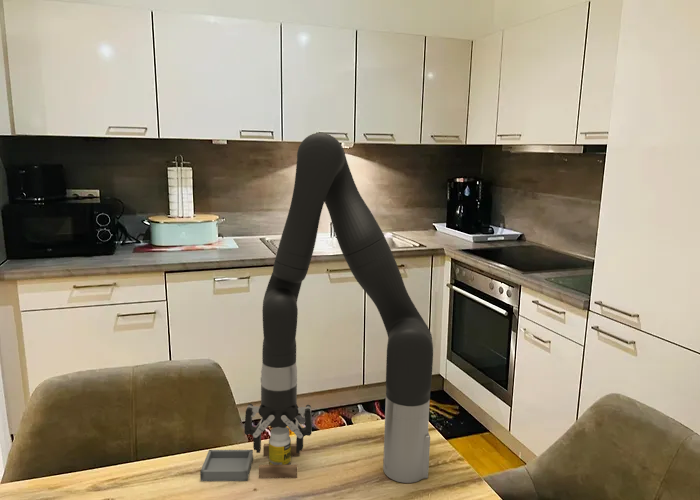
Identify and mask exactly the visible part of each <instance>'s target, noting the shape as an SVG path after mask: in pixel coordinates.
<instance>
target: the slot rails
mask: <svg viewBox="0 0 700 500" xmlns="http://www.w3.org/2000/svg"><path fill="white" fill-rule="evenodd" d="M262 451H263V452H262V453H263V456H262V457H269V443H263V450H262ZM291 457H300V453H296V443H291ZM258 479H298V464H297V463H296V464H291V465H269V464H258Z"/></svg>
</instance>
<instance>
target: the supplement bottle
mask: <svg viewBox="0 0 700 500" xmlns="http://www.w3.org/2000/svg"><path fill="white" fill-rule="evenodd" d="M291 439H292V438H291V437H290V428H289V427H288V426H287V427H285V428H281V427H275V428H271V429H270V438H269V439H268V444H269V456H268V465H292V464H291V463H292V461H291V460H292V456H291V444H292V440H291Z"/></svg>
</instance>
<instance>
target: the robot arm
mask: <svg viewBox="0 0 700 500" xmlns="http://www.w3.org/2000/svg"><path fill="white" fill-rule="evenodd" d="M290 202H291V203H290V206H289V209H288V214H287V217H286V220H285V223H284V228H283V231H282V233H281V236H280V241H279V242H278V243H279V244H278V248H277V251H276V255H275V258H274V263H273V267H272V272H271V275H270V278H269V281H268V283H267V287H266V290H265V292H264V297H263V300H262V330H263V341H262V358H261V359H262V361H261V362H262V364H261V371H260V374H261V375H260V405H259V406H258V405H255V406H254V404H252V403H249V404H247V406H246V409H245V415H244V419H245V420H244V431H243V433H244V434H245V435H246V436H248V435H250V436H252V438H253V443H252V444H253V446H252V447H253V451H256V452H255V453H256V454H260V453H261V450H262V433H263V432H264V431H265V430H266V429H267V427H270V428H271V429H272V428H275V427H281V428H285V427H288V428H289V431H291V432H293V434H295V436H296V438H295V439H296V440H295V441H296V443H295V444H296V453H300V452H301V451H303V449H304V437H306V436H309V437H310V436H311V435H312V432H313V431H312V430H313V424H312V423H313V422H312V406H311V405H310V404H306V405H305V406H301V407H300V406H298V403H297V400H298V399H297V398H298V397H297V396H298V391H297V390H298V389H297V388H298V367H297V340H296V337H297V326H298V314H299V313H298V309H299V308H298V298H299V294H300V291H301V287H302V284H303V281H304V280H305V278H306V277H307V275H308V271H309V268H310V264H311V261H312V258H313V255H314V254H313V253H314V250H315V245H316V242H317V241H316V240H317V236H318V230H319V224H320V219H321V214H322V211H323V207H324V204H325V206H326V208H327V211H328V214H329V217H330V220H331V224H332V227H333V232H334V234H335V237H336V240H337V243H338V246H339V248H340V250H341V252H342V255H343V257H344V259H345V262H346V263H347V266H348V268H349V269H350V270H349V271H350V272H351V274H352V275H353V277H354V279H355V281H356V282H357V283H358V285H360V286H359V287H360V288H361V289H362V290H364V292H365V293H366V295H367V296H368V297H369V298H370V299H371V301H372V302H373V303H374V305H375V307H376V308H377V310H378V314H379V315H380V318H381V320H382V323H383V325H384V328H385V331H386V334H387V338H388V339H387V346H386V360H385V363H386V367H385V404H384V405H385V411H384V434H383V435H384V437H383V439H384V440H383V458H382V459H383V460H382V463H383V468H382V470H383V473H384V474H385V475H386V476H387V478H389V479H391V480H393V481H395V482H397V483H405V484H410V483H411V484H412V483H416V482H419V481H422V480H424V479H428V478H429V467H430V447H431V436H430V433H429V423H430V422H429V420H430V403H431V402H430V401H431V390H432V378H433V365H434V363H433V362H434V361H433V360H434V345H433V337H432V333H431V330H430V328H429V326H428V325H427V323H426V322H425V320H424V319H423V317H422V315H421V313H420V312H419V310H418V308H416V305H415V304H414V302H413V301H412V299H411V296H410V295H409V293H408V290H407V288H406V286H405V283H404V279H403V277H402V274H401V272H400V269H399V266H398V264H397V262H396V261H397V260H396V258H395V256H394V254H393V251H392V249H391V248H390V247H391V246H390V245H389V243H388V241H387V238H386V237H385V234H384V232H383V231H382V229H381V227H380V224H379V223H378V221H377V219H376V218H375V217H374V215H373V213H372V212H371V210H370V208H369V207H368V205H367V203H366V202H365V200H364V199H363V197H362V196H361V194H360V191H359V189H358V187H357V185H356V182H355V181H354V178H353V175H352V172H351V169H350V165H349V163H348V160H347V156H346V153H345V150H344V147H343V146H342V143H340V141H339V140H338V139H337V138H336V137H334V136H333V135H331V134H328V133H326V132H315V133H311V134H310V135H307V137H305V138H304V139H303V140H302V141H301V142H300V144H299V146H298V148H297V152H296V166H295V176H294V185H293V192H292V197H291V201H290ZM257 414H259V416H260V417H261V419H260V421H259V422H258V423H257V425H256V426H253V418H254V417H256V415H257ZM299 414H300V415H301V417H302V418H303V419H305V420H304V421H305V422H304V423H305V425H304V427H303V426H302V425H301V424H300V422H299V420H298V419H297V416H298V415H299Z"/></svg>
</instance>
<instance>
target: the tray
mask: <svg viewBox="0 0 700 500" xmlns="http://www.w3.org/2000/svg"><path fill="white" fill-rule="evenodd" d="M253 460H254V449H209V450H208V452H207V454H206V457H205V459H204V461H203V463H202V467H201V469H200V472H199V474H200V482H248V480H249V476H250V473H251V472H250V471H251V468H252V464H253Z"/></svg>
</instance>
